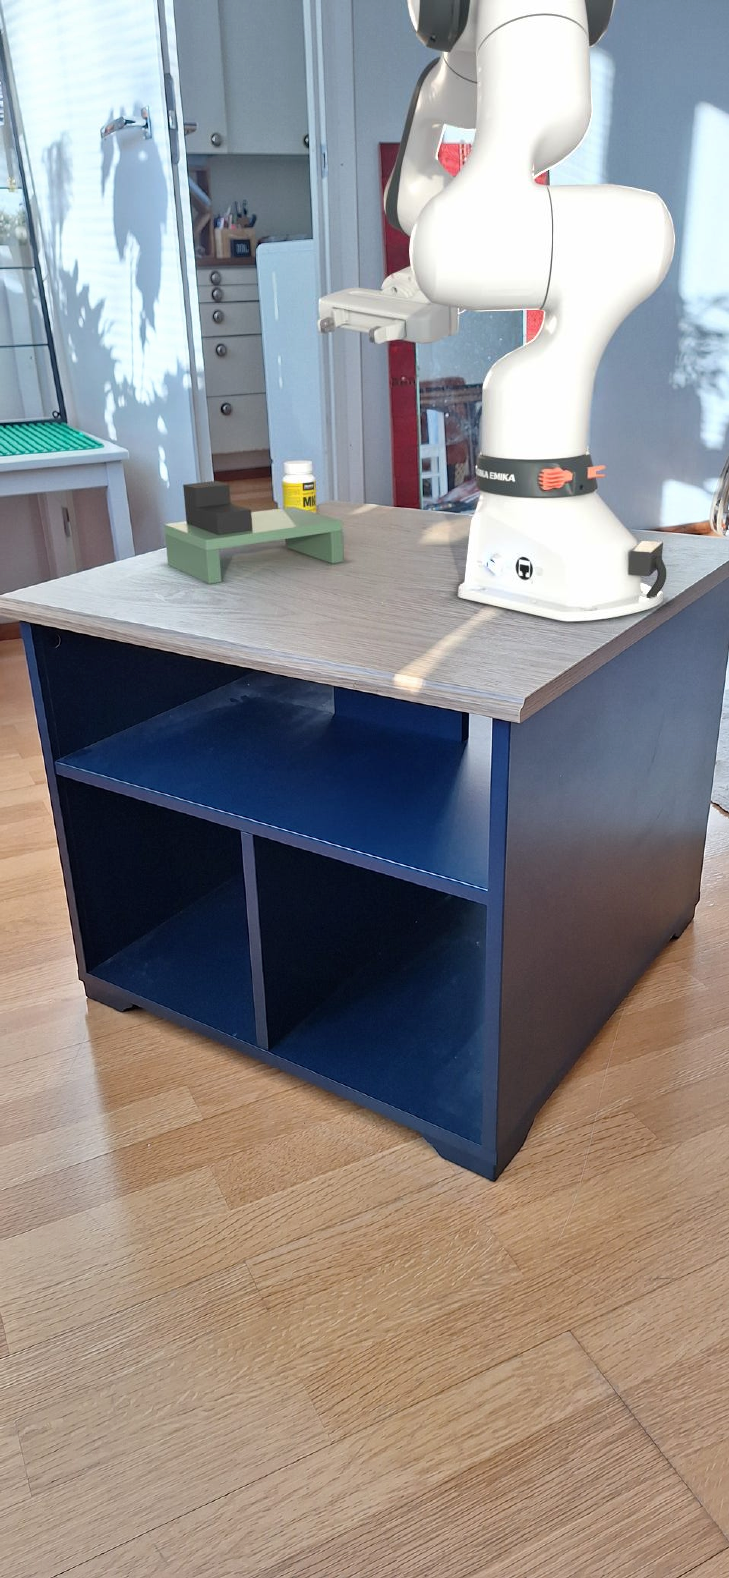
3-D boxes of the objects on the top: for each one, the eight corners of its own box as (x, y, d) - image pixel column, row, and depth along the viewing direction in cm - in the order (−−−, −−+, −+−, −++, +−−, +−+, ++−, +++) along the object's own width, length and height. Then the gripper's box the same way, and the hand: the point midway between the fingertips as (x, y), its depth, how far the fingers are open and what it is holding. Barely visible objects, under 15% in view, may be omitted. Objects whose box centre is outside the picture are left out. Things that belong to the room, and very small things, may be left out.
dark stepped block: (252, 530, 130) (250, 490, 128) (218, 535, 128) (215, 494, 126) (219, 519, 137) (216, 480, 135) (186, 523, 135) (182, 484, 133)
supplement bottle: (307, 527, 156) (304, 465, 153) (278, 524, 158) (274, 464, 155) (323, 520, 160) (320, 460, 157) (294, 518, 162) (291, 459, 159)
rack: (343, 561, 136) (342, 520, 134) (209, 583, 127) (205, 540, 125) (295, 545, 145) (294, 506, 143) (167, 565, 137) (163, 524, 135)
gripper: (353, 270, 163) (289, 298, 156) (465, 287, 152) (402, 318, 145) (357, 315, 167) (295, 344, 160) (467, 335, 156) (405, 367, 149)
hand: (346, 332), depth 152 cm, fingers open, 8 cm apart
